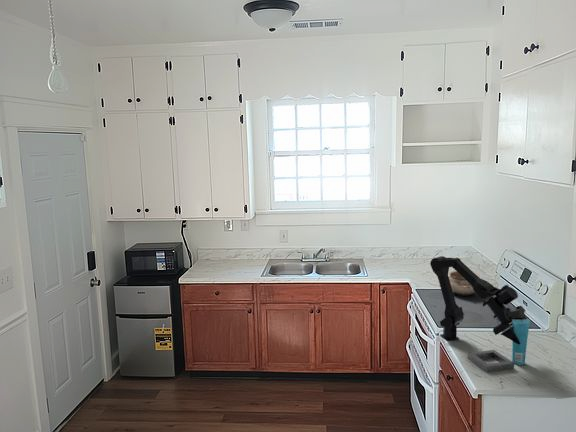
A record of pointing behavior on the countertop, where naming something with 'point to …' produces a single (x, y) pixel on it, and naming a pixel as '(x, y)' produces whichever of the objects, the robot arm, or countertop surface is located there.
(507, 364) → the grey square frame
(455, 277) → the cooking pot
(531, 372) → the countertop surface
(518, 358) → the tube
